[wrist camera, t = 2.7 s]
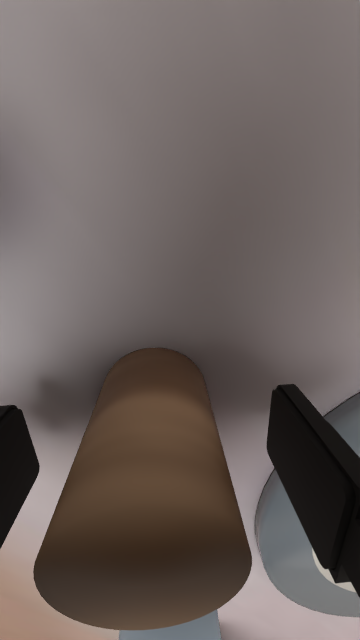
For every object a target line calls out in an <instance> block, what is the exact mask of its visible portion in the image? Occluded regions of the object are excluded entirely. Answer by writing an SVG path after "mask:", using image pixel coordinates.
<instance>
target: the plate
mask: <svg viewBox="0 0 360 640" xmlns="http://www.w3.org/2000/svg"><path fill="white" fill-rule="evenodd" d="M323 418H324V419H325V420H326V421H328V422H329V423H330V424H331V425H332V426H333V427H334V429H335V430H336V431H337V432H338V433H339V434H340V435H341V437H342V438H343V439H344V440H345V441H346V442H347V444H348V445H349V446H350V447H351V448H352V449H353V450H354V452H355V453H356V454H357V455H358V456H359V457H360V393H359V394H357V395H355V396H354V397H352V398H350V399H349V400H347V401H346V402H344V403H343V404H342V405H340V406H339V407H337V408H336V409H334V410H333V411H332V412H330V413H329V414H327V415H326V416H325V417H323ZM255 535H256V539H257V544H258V548H259V552H260V555H261V558H262V562H263V565H264V568H265V570H266V572H267V575H268V577H269V579H270V580H271V582H272V583H273V584H274V586H275V587H276V588H277V589H278V590H279V591H280V592H281V593H282V594H283V595H285V596H286V597H287V598H289V599H290V600H292V601H294V602H295V603H297V604H299V605H301V606H303V607H306V608H308V609H311V610H314V611H318V612H321V613H325V614H331V615H337V616H346V617H360V597H358V595H357V593H356V591H355V589H354V587H353V585H352V583H351V582H345V583H337V584H335V582H334V580H333V578H332V576H331V574H330V572H329V570H328V569H324V568H323V567H322V566H321V564H320V563H319V561H318V559H317V557H316V554H315V552H314V550H313V548H312V546H311V544H310V542H309V540H308V537H307V535H306V533H305V531H304V529H303V527H302V525H301V523H300V521H299V518H298V516H297V514H296V512H295V510H294V508H293V506H292V504H291V501H290V499H289V497H288V495H287V493H286V491H285V489H284V487H283V484H282V482H281V480H280V478H279V476H278V474H277V472H276V470H275V469H274V471H273V473H272V475H271V476H270V478H269V480H268V482H267V484H266V485H265V487H264V490H263V493H262V495H261V498H260V500H259V503H258V508H257V513H256V518H255Z"/></svg>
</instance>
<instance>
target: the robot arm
mask: <svg viewBox="0 0 360 640" xmlns="http://www.w3.org/2000/svg"><path fill="white" fill-rule="evenodd" d="M267 451H268V454H269V457H270V459H271V461H272V463H273V465H274V467H275V470H276V472H277V474H278V476H279V478H280V480H281V482H282V484H283V487H284V489H285V491H286V493H287V495H288V497H289V499H290V501H291V504H292V506H293V508H294V510H295V512H296V514H297V516H298V518H299V521H300V523H301V525H302V527H303V529H304V531H305V533H306V535H307V537H308V540H309V542H310V544H311V546H312V548H313V550H314V552H315V554H316V557H317V559H318V561H319V563H320V564H321V566H322V567H323V568H324V569H328V570H329V572H330V574H331V576H332V578H333V580H334V582H335V584H337V583H345V582H351V583H352V585H353V587H354V589H355V591H356V593H357V595H358V597H360V457H359V456H358V455H357V454H356V453H355V452H354V450H353V449H352V448H351V447H350V446H349V445H348V444H347V442H346V441H345V440H344V439H343V438H342V437H341V435H340V434H339V433H338V432H337V431H336V430H335V429H334V427H333V426H332V425H331V424H330V423H329V422H328V421H326V420H325V419H324V418H323V416H322V415H321V414H320V413H319V412H318V411H317V409H316V408H315V407H314V406H313V405H312V404H311V402H310V401H309V400H308V399H307V398H306V397H305V395H304V394H303V393H302V392H301V391H300V390H299V388H298V387H297V386H296V385H294V384H287V385H278V386H277V388H276V389H275V390H273V391H272V398H271V408H270V417H269V427H268V436H267ZM38 473H39V462H38V459H37V456H36V453H35V449H34V446H33V443H32V440H31V437H30V434H29V431H28V428H27V425H26V422H25V418H24V415H23V412H22V410H21V409H18V408H17V407H16V406H15V405H7V406H0V548H1V546H2V545H3V543H4V541H5V539H6V537H7V535H8V533H9V531H10V529H11V527H12V525H13V523H14V521H15V519H16V517H17V515H18V513H19V511H20V509H21V507H22V505H23V503H24V501H25V500H26V498H27V496H28V494H29V492H30V490H31V488H32V486H33V484H34V482H35V480H36V478H37V476H38Z"/></svg>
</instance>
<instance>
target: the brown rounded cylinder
mask: <svg viewBox="0 0 360 640" xmlns="http://www.w3.org/2000/svg"><path fill="white" fill-rule="evenodd" d="M251 566H252V556H251V551H250V547H249V544H248V540H247V536H246V533H245V529H244V525H243V521H242V518H241V514H240V510H239V507H238V503H237V499H236V496H235V492H234V488H233V485H232V481H231V477H230V473H229V470H228V466H227V462H226V459H225V455H224V451H223V448H222V444H221V440H220V437H219V433H218V429H217V426H216V422H215V418H214V414H213V411H212V407H211V403H210V400H209V396H208V392H207V389H206V385H205V381H204V378H203V376H202V373H201V372H200V370H199V368H198V367H197V366H196V365H195V363H194V362H192V361H191V360H190V359H189V358H187V357H186V356H184V355H183V354H181V353H179V352H176V351H173V350H170V349H165V348H145V349H141V350H137V351H134V352H131V353H129V354H127V355H125V356H124V357H122V358H121V359H120V360H118V361H117V362H116V363H115V364H114V365H113V366H112V368H111V369H110V370H109V372H108V374H107V376H106V379H105V381H104V384H103V386H102V389H101V392H100V394H99V397H98V399H97V402H96V405H95V407H94V410H93V412H92V415H91V418H90V420H89V423H88V425H87V428H86V431H85V433H84V436H83V438H82V441H81V444H80V446H79V449H78V451H77V454H76V457H75V459H74V462H73V464H72V467H71V470H70V472H69V475H68V477H67V480H66V483H65V485H64V488H63V490H62V493H61V496H60V498H59V501H58V503H57V506H56V509H55V511H54V514H53V516H52V519H51V522H50V524H49V527H48V529H47V532H46V535H45V537H44V540H43V542H42V545H41V548H40V550H39V553H38V555H37V558H36V561H35V565H34V581H35V584H36V587H37V589H38V591H39V593H40V595H41V596H42V597H43V598H44V600H45V601H46V602H47V603H48V604H49V605H50V606H52V607H53V608H54V609H55V610H57V611H58V612H60V613H62V614H63V615H65V616H67V617H69V618H71V619H73V620H76V621H79V622H81V623H84V624H88V625H92V626H96V627H101V628H106V629H114V630H151V629H159V628H166V627H171V626H175V625H179V624H183V623H186V622H190V621H192V620H195V619H198V618H200V617H203V616H205V615H207V614H209V613H211V612H213V611H215V610H216V609H218V608H220V607H221V606H223V605H224V604H225V603H227V602H228V601H229V600H231V599H232V598H233V597H234V596H235V595H236V594H237V593H238V592H239V591H240V590H241V588H242V587H243V585H244V584H245V582H246V581H247V579H248V576H249V574H250V571H251Z"/></svg>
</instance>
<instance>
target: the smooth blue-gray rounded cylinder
mask: <svg viewBox="0 0 360 640" xmlns="http://www.w3.org/2000/svg"><path fill="white" fill-rule="evenodd" d="M119 640H221V634H220V627H219V620H218V612H217V609H216V610H215V611H213V612H211V613H209V614H207V615H205V616H203V617H200V618H198V619H195V620H192V621H190V622H186V623H183V624H179V625H175V626H171V627H166V628H159V629H151V630H120V632H119Z"/></svg>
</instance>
